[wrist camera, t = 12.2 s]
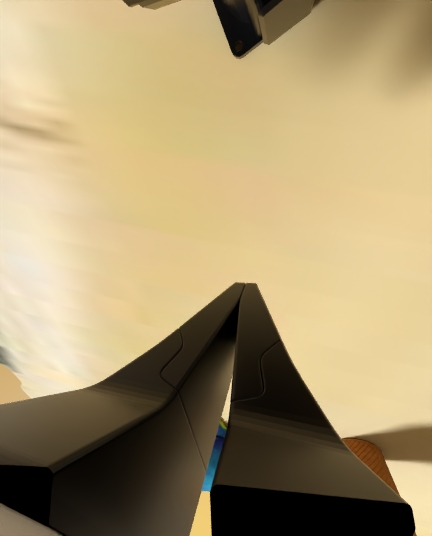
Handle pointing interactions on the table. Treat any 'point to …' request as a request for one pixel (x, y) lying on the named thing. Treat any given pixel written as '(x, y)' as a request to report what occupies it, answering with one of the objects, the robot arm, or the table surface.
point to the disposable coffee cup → (372, 460)
